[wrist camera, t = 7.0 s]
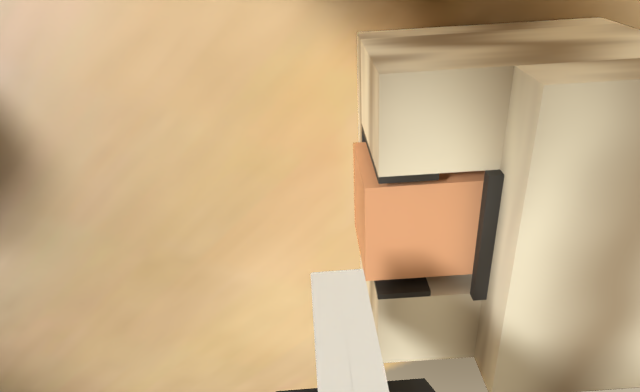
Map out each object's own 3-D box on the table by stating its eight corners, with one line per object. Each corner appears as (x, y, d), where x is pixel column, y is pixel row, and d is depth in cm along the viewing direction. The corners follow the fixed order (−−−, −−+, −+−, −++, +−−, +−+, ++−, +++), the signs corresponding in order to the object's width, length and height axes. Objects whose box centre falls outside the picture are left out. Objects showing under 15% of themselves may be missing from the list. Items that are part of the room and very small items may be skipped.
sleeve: (360, 268, 26) (384, 404, 19) (356, 32, 20) (390, 94, 13) (549, 255, 26) (648, 386, 19) (600, 17, 20) (773, 71, 13)
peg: (354, 224, 22) (365, 281, 19) (353, 142, 20) (364, 188, 17) (575, 210, 22) (626, 264, 19) (594, 127, 20) (656, 169, 17)
